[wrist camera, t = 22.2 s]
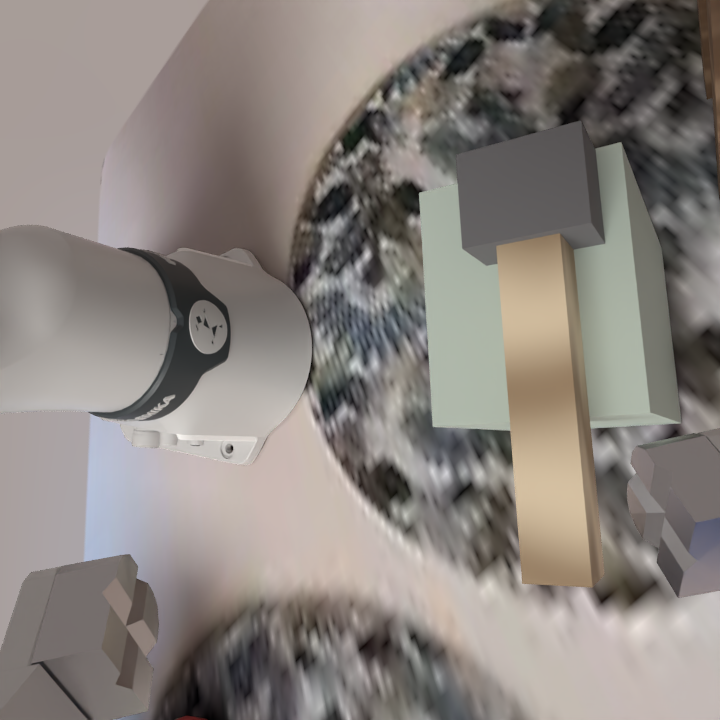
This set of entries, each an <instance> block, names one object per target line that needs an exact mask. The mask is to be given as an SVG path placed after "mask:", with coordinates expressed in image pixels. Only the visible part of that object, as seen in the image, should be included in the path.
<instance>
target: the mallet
mask: <svg viewBox="0 0 720 720" xmlns="http://www.w3.org/2000/svg"><path fill="white" fill-rule="evenodd" d="M456 167H457V181H458V196H459V210H460V224H461V239H462V249H463V250H465V251H466V252H468V253H469V254H470V255H472V256H473V257H475V258H476V259H477V260H479V261H480V262H482V263H483V264H485V265H486V266H488V265H494V264H498V275H499V288H500V301H501V314H502V327H503V340H504V353H505V366H506V378H507V391H508V404H509V417H510V430H511V443H512V456H513V469H514V482H515V494H516V507H517V520H518V533H519V546H520V559H521V572H522V584H538V585H557V586H576V587H593V586H594V585H595V584H596V583H597V582H598V581H599V580H600V579H601V578H602V577H603V576H604V575H605V574H604V563H603V553H602V542H601V532H600V521H599V511H598V500H597V490H596V479H595V469H594V458H593V448H592V438H591V427H590V417H589V406H588V396H587V385H586V375H585V364H584V354H583V343H582V333H581V322H580V312H579V301H578V291H577V280H576V270H575V259H574V249H580V248H585V247H591V246H596V245H601V244H605V236H604V227H603V217H602V207H601V198H600V188H599V178H598V168H597V159H596V150H595V148H594V146H593V144H592V142H591V140H590V138H589V136H588V134H587V132H586V129H585V127H584V125H583V123H582V121H581V120H580V121H577V122H573V123H570V124H566V125H562V126H559V127H555V128H551V129H548V130H544V131H541V132H537V133H533V134H530V135H526V136H522V137H519V138H515V139H511V140H508V141H504V142H501V143H497V144H493V145H490V146H486V147H482V148H479V149H475V150H472V151H468V152H464V153H461V154H457V155H456Z"/></svg>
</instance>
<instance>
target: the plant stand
mask: <svg viewBox="0 0 720 720" xmlns="http://www.w3.org/2000/svg"><path fill="white" fill-rule="evenodd" d="M697 5H698V17H699V28H700V40H701V52H702V63H703V73H704V81H705V89H706V97H707V99H711V98H713V112H714V128H715V143H716V159H717V174H718V189H719V198H720V0H697Z"/></svg>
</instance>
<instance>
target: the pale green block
mask: <svg viewBox="0 0 720 720" xmlns="http://www.w3.org/2000/svg"><path fill="white" fill-rule="evenodd" d="M595 150H596V159H597V168H598V178H599V188H600V198H601V207H602V217H603V227H604V236H605V244H601V245H596V246H591V247H585V248H580V249H574V259H575V270H576V280H577V291H578V301H579V312H580V322H581V333H582V343H583V354H584V364H585V375H586V385H587V396H588V406H589V417H590V427H591V428H606V427H624V426H641V425H659V424H676V423H682V422H681V413H680V405H679V396H678V387H677V378H676V369H675V361H674V352H673V343H672V334H671V326H670V317H669V308H668V299H667V290H666V282H665V273H664V264H663V255H662V248H661V245H660V243H659V240H658V237H657V235H656V232H655V230H654V227H653V224H652V222H651V219H650V216H649V214H648V211H647V208H646V206H645V203H644V201H643V198H642V195H641V193H640V190H639V187H638V185H637V182H636V179H635V177H634V174H633V172H632V169H631V166H630V164H629V161H628V158H627V156H626V153H625V150H624V148H623V145H622V143H621V142H620V143H616V144H612V145H608V146H604V147H600V148H596V149H595ZM419 199H420V216H421V233H422V250H423V267H424V284H425V301H426V318H427V334H428V351H429V368H430V385H431V402H432V419H433V427H448V428H469V429H490V430H510V417H509V404H508V391H507V378H506V366H505V353H504V340H503V327H502V314H501V301H500V288H499V275H498V264H494V265H488V266H486V265H485V264H483V263H482V262H480V261H479V260H477V259H476V258H475V257H473V256H472V255H470V254H469V253H468V252H466V251H465V250H463V249H462V239H461V224H460V210H459V196H458V183H457V184H453V185H449V186H445V187H441V188H437V189H433V190H429V191H425V192H421V193H419Z"/></svg>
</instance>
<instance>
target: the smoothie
mask: <svg viewBox="0 0 720 720" xmlns="http://www.w3.org/2000/svg"><path fill="white" fill-rule="evenodd" d="M176 720H208V719H205V718H197V717H193V716H184V717H181V718H178V719H176Z"/></svg>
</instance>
